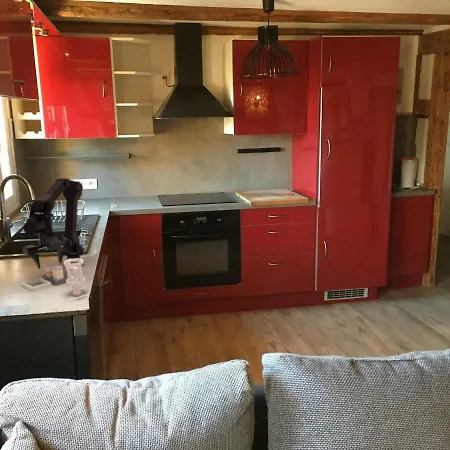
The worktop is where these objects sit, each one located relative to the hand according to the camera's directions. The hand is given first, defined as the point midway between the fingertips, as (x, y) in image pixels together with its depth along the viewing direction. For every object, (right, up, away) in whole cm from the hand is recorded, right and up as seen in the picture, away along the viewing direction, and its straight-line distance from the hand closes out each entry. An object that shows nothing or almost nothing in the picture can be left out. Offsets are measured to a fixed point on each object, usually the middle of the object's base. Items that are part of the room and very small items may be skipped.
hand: (50, 265), depth 208 cm
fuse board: (+3, -7, -1) cm, 8 cm away
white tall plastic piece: (+16, -10, -16) cm, 25 cm away
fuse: (+5, -7, -3) cm, 9 cm away
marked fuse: (0, -6, +1) cm, 6 cm away
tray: (-3, -9, -6) cm, 11 cm away
